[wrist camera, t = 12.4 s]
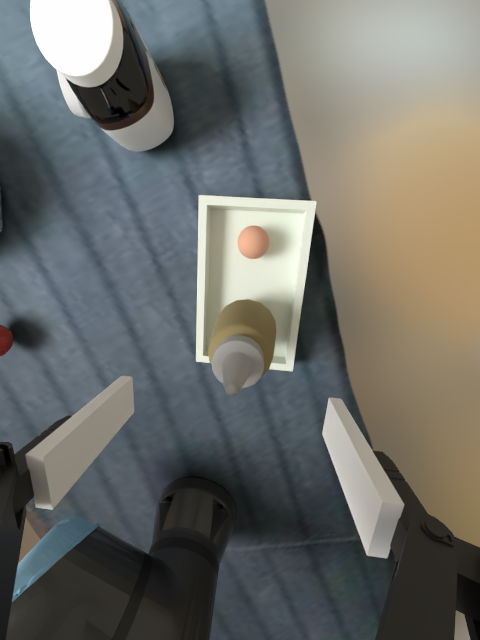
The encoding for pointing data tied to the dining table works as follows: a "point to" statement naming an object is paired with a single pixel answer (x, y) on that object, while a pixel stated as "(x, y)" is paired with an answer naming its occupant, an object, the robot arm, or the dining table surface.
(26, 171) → the dining table surface
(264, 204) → the tray
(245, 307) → the squeeze bottle
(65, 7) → the spread jar
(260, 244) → the egg
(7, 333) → the red fruit
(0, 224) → the bottle
